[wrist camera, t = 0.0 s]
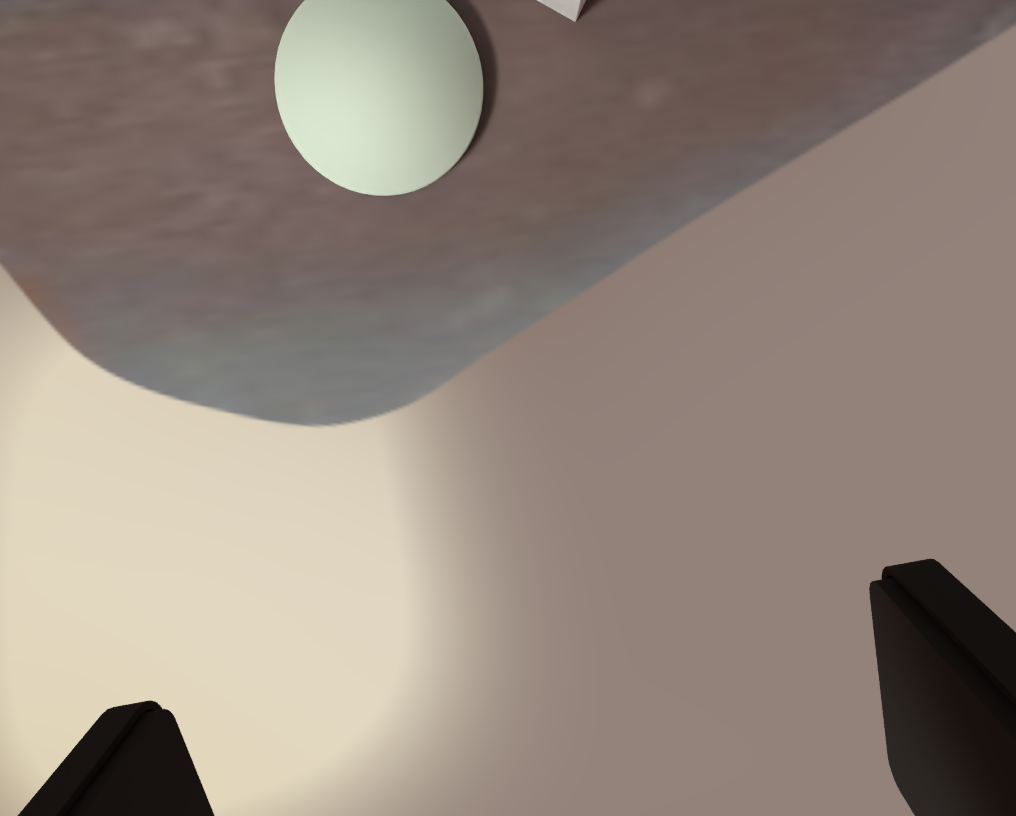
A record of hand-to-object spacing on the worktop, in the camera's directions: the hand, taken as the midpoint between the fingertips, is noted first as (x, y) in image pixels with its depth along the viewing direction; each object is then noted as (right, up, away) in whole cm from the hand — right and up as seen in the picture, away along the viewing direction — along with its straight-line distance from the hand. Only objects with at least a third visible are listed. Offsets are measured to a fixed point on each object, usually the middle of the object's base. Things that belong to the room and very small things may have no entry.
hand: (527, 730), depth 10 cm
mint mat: (-6, +20, +27) cm, 34 cm away
